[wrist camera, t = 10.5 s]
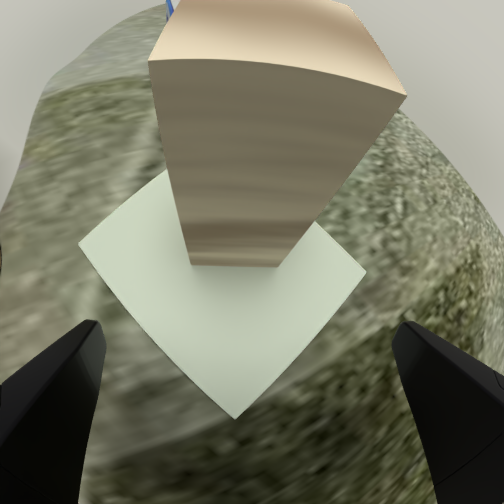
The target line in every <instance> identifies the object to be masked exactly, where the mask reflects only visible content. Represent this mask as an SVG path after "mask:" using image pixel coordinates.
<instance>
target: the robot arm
mask: <svg viewBox="0 0 504 504" xmlns="http://www.w3.org/2000/svg"><path fill="white" fill-rule="evenodd" d="M392 350H393V353H394V357H395V360H396V364H397V367H398V371H399V375H400V379H401V382H402V386H403V389H404V392H405V394H406V397H407V400H408V403H409V406H410V408H411V411H412V414H413V417H414V420H415V423H416V426H417V429H418V432H419V436H420V439H421V442H422V445H423V449H424V452H425V455H426V459H427V462H428V466H429V470H430V473H431V477H432V481H433V485H434V490H435V494H436V499H437V503H438V504H504V376H503V375H501V374H500V373H498V372H497V371H495V370H493V369H492V368H490V367H488V366H487V365H485V364H484V363H482V362H480V361H479V360H477V359H475V358H474V357H472V356H471V355H469V354H467V353H466V352H464V351H462V350H461V349H459V348H457V347H456V346H454V345H453V344H451V343H449V342H448V341H446V340H444V339H443V338H441V337H439V336H438V335H436V334H434V333H433V332H431V331H429V330H428V329H426V328H424V327H423V326H421V325H419V324H417V323H416V322H414V321H404V322H402V323H401V324H400V325H399V327H398V329H397V331H396V334H395V336H394V338H393V340H392ZM105 353H106V340H105V337H104V334H103V331H102V327H101V324H100V322H99V321H97V320H89V319H86V320H84V321H83V322H81V323H80V324H78V325H77V326H76V327H74V328H73V329H72V330H70V331H69V332H68V333H66V334H65V335H64V336H62V337H61V338H59V339H58V340H57V341H55V342H54V343H53V344H51V345H50V346H49V347H47V348H46V349H45V350H44V351H42V352H41V353H40V354H38V355H37V356H36V357H34V358H33V359H32V360H30V361H29V362H28V363H27V364H25V365H24V366H23V367H22V368H20V369H19V370H18V371H16V372H15V373H14V374H13V375H11V376H10V377H9V378H8V379H6V380H5V381H4V382H3V383H2V385H0V504H78V499H79V491H80V484H81V477H82V471H83V465H84V459H85V454H86V448H87V443H88V438H89V434H90V429H91V425H92V420H93V416H94V412H95V408H96V404H97V400H98V395H99V390H100V383H101V377H102V371H103V365H104V359H105Z"/></svg>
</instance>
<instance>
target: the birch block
mask: <svg viewBox="0 0 504 504" xmlns="http://www.w3.org/2000/svg"><path fill="white" fill-rule="evenodd" d="M148 66H149V72H150V79H151V85H152V92H153V98H154V103H155V109H156V115H157V120H158V126H159V131H160V136H161V141H162V146H163V151H164V156H165V161H166V165H167V170H168V175H169V179H170V184H171V188H172V192H173V197H174V201H175V205H176V209H177V213H178V217H179V221H180V225H181V229H182V233H183V237H184V241H185V245H186V249H187V252H188V256H189V260H190V263H191V265H201V266H236V267H279V265H280V264H281V263H282V262H283V260H284V259H285V258H286V257H287V255H288V254H289V253H290V252H291V250H292V249H293V248H294V246H295V245H296V244H297V243H298V241H299V240H300V239H301V238H302V236H303V235H304V234H305V233H306V231H307V230H308V229H309V227H310V226H311V225H312V224H313V222H314V221H315V220H316V218H317V217H318V216H319V215H320V213H321V212H322V211H323V209H324V208H325V207H326V206H327V204H328V203H329V202H330V200H331V199H332V198H333V196H334V195H335V194H336V192H337V191H338V190H339V189H340V187H341V186H342V185H343V183H344V182H345V181H346V179H347V178H348V177H349V175H350V174H351V173H352V171H353V170H354V169H355V167H356V166H357V165H358V163H359V162H360V161H361V159H362V158H363V157H364V155H365V154H366V153H367V151H368V150H369V148H370V147H371V146H372V144H373V143H374V142H375V140H376V139H377V138H378V136H379V135H380V133H381V132H382V131H383V129H384V128H385V127H386V125H387V124H388V122H389V121H390V120H391V118H392V117H393V115H394V114H395V113H396V111H397V110H398V108H399V107H400V105H401V104H402V103H403V101H404V100H405V99H406V97H407V94H406V92H405V90H404V88H403V86H402V85H401V83H400V81H399V79H398V78H397V76H396V74H395V72H394V71H393V69H392V67H391V66H390V64H389V62H388V61H387V59H386V58H385V56H384V54H383V53H382V51H381V50H380V48H379V47H378V45H377V44H376V42H375V41H374V39H373V38H372V37H371V35H370V34H369V32H368V31H367V29H366V28H365V27H364V25H363V24H362V23H361V21H360V20H359V18H358V17H357V16H356V15H355V13H354V12H353V11H352V10H351V8H350V7H349V6H348V5H344V4H341V3H337V2H334V1H330V0H180V2H179V3H178V5H177V7H176V8H175V10H174V12H173V13H172V15H171V17H170V19H169V20H168V22H167V24H166V26H165V28H164V30H163V31H162V33H161V35H160V37H159V39H158V41H157V43H156V45H155V47H154V49H153V51H152V53H151V55H150V57H149V59H148Z"/></svg>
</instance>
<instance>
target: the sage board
mask: <svg viewBox="0 0 504 504" xmlns="http://www.w3.org/2000/svg"><path fill="white" fill-rule="evenodd" d="M78 244H79V246H80V247H81V249H82V250H83V252H84V253H85V255H86V256H87V258H88V259H89V260H90V262H91V263H92V265H93V266H94V267H95V269H96V270H97V272H98V273H99V274H100V276H101V277H102V278H103V280H104V281H105V282H106V284H107V285H108V286H109V288H110V289H111V290H112V291H113V293H114V294H115V295H116V297H117V298H118V299H119V300H120V302H121V303H122V304H123V305H124V307H125V308H126V309H127V310H128V311H129V313H130V314H131V315H132V316H133V317H134V319H135V320H136V321H137V322H138V323H139V325H140V326H141V327H142V328H143V329H144V330H145V331H146V333H147V334H148V335H149V336H150V337H151V338H152V339H153V340H154V342H155V343H156V344H157V345H158V346H159V347H160V348H161V349H162V350H163V351H164V352H165V353H166V355H167V356H168V357H169V358H170V359H171V360H172V361H173V362H174V363H175V364H176V365H177V366H178V367H179V368H180V369H181V370H182V371H183V372H184V373H185V374H186V375H187V376H188V377H189V378H190V379H191V380H192V381H193V382H194V383H195V384H196V385H197V386H198V387H199V388H200V389H201V390H203V391H204V392H205V393H206V394H207V395H208V396H209V397H210V398H211V399H212V400H213V401H214V402H216V403H217V404H218V405H219V406H220V407H221V408H222V409H223V410H225V411H226V412H227V413H228V414H229V415H230V416H231V417H233V418H234V419H236V418H237V417H238V416H239V415H240V414H241V413H243V412H244V411H245V410H246V409H247V408H248V407H249V406H250V405H251V404H252V403H253V402H254V401H255V400H256V399H257V398H258V397H259V396H260V395H261V394H262V393H263V392H264V391H265V390H266V389H267V388H268V387H269V386H270V385H271V384H272V383H273V382H274V381H275V380H276V379H277V378H278V377H279V376H280V375H281V374H282V372H283V371H284V370H285V369H286V368H287V367H288V366H289V365H290V364H291V363H292V362H293V361H294V360H295V358H296V357H297V356H298V355H299V354H300V353H301V352H302V351H303V350H304V348H305V347H306V346H307V345H308V344H309V343H310V342H311V341H312V339H313V338H314V337H315V336H316V335H317V334H318V332H319V331H320V330H321V329H322V328H323V327H324V325H325V324H326V323H327V322H328V321H329V319H330V318H331V317H332V316H333V315H334V313H335V312H336V311H337V310H338V308H339V307H340V306H341V305H342V303H343V302H344V301H345V300H346V298H347V297H348V296H349V295H350V293H351V292H352V291H353V289H354V288H355V287H356V286H357V284H358V283H359V282H360V280H361V279H362V278H363V276H364V275H365V274H366V271H365V270H364V269H363V268H362V267H361V266H360V265H359V264H358V263H357V262H356V261H355V260H354V259H353V258H352V257H351V256H350V255H349V254H348V253H347V252H346V251H345V250H344V249H343V248H342V247H341V246H340V245H339V244H338V243H337V242H336V241H335V240H334V239H333V238H332V237H331V236H330V235H329V234H328V233H327V232H326V231H324V230H323V229H322V228H321V227H320V226H319V225H318V224H317V223H316V222H315V221H314V222H313V224H312V225H311V226H310V227H309V229H308V230H307V231H306V233H305V234H304V235H303V236H302V238H301V239H300V240H299V241H298V243H297V244H296V245H295V246H294V248H293V249H292V250H291V252H290V253H289V254H288V255H287V257H286V258H285V259H284V260H283V262H282V263H281V264H280V265H279V267H236V266H201V265H191V263H190V260H189V256H188V252H187V249H186V245H185V241H184V237H183V233H182V229H181V225H180V221H179V217H178V213H177V209H176V205H175V201H174V197H173V192H172V188H171V184H170V179H169V175H168V170H167V169H166V170H165V171H164V172H162V173H161V174H160V175H158V176H157V177H156V178H154V179H153V180H152V181H150V182H149V183H148V184H147V185H145V186H144V187H143V188H141V189H140V190H139V191H138V192H136V193H135V194H134V195H133V196H132V197H130V198H129V199H128V200H127V201H125V202H124V203H123V204H122V205H121V206H119V207H118V208H117V209H116V210H115V211H114V212H112V213H111V214H110V215H109V216H108V217H107V218H106V219H104V220H103V221H102V222H101V223H100V224H99V225H98V226H97V227H95V228H94V229H93V230H92V231H91V232H90V233H89V234H88V235H87V236H86V237H85V238H84V239H82V240H81V241H80V242H79V243H78Z"/></svg>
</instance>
